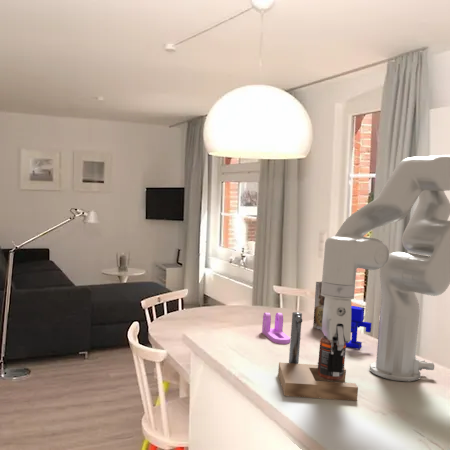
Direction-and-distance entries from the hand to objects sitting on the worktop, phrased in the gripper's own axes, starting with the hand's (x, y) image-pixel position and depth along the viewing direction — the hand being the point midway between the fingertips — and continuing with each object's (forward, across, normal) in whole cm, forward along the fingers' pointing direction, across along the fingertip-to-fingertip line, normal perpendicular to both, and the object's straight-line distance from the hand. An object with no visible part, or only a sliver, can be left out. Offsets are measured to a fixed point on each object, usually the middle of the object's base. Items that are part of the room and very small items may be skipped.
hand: (331, 366), depth 120 cm
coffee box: (+5, +56, -11) cm, 57 cm away
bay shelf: (+5, 0, +3) cm, 6 cm away
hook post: (+5, +8, +7) cm, 12 cm away
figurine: (+5, +37, -15) cm, 40 cm away
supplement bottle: (+3, 0, 0) cm, 3 cm away
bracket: (+5, +41, +8) cm, 42 cm away
